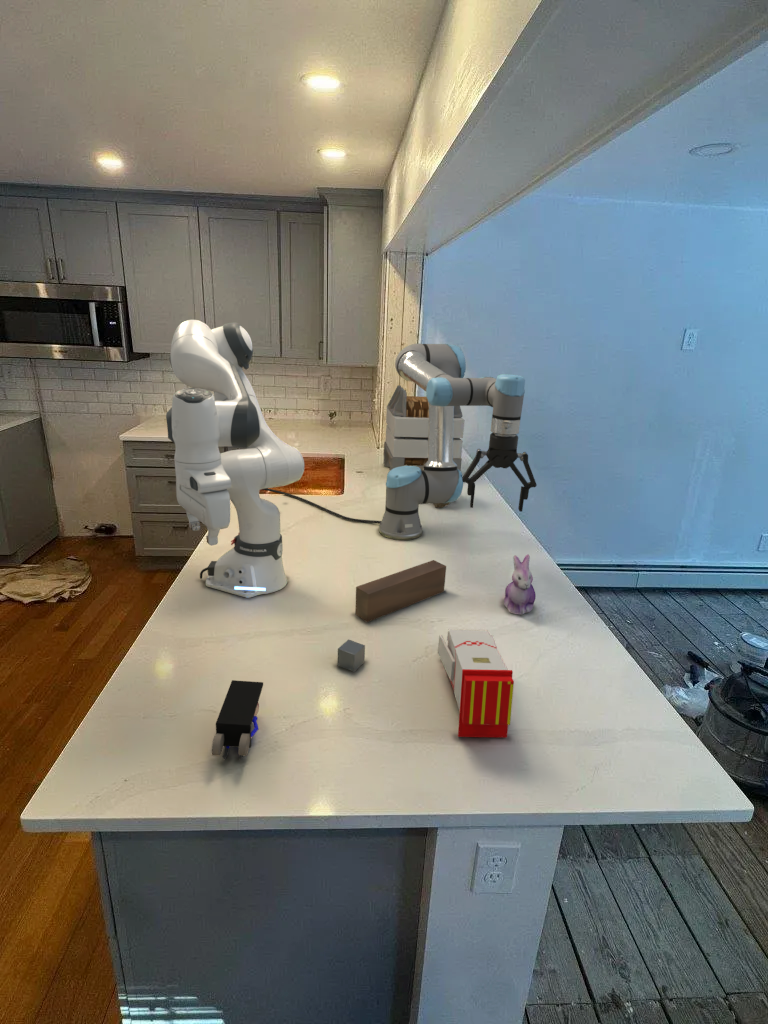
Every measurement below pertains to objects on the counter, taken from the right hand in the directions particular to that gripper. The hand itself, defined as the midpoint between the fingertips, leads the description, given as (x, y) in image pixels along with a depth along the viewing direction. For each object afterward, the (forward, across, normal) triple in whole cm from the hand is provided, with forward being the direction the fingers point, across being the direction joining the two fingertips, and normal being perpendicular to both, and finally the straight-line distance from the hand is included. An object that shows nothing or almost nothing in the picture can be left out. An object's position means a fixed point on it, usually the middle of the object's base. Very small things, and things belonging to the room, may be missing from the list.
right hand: (495, 508), depth 160 cm
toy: (+23, -7, -53) cm, 58 cm away
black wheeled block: (+23, -49, -73) cm, 91 cm away
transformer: (+23, -25, +112) cm, 118 cm away
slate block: (+23, -33, -47) cm, 62 cm away
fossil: (+23, -12, +72) cm, 77 cm away
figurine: (+23, +8, -14) cm, 28 cm away
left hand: (-6, -65, -48) cm, 81 cm away
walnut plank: (+23, -24, -17) cm, 37 cm away
